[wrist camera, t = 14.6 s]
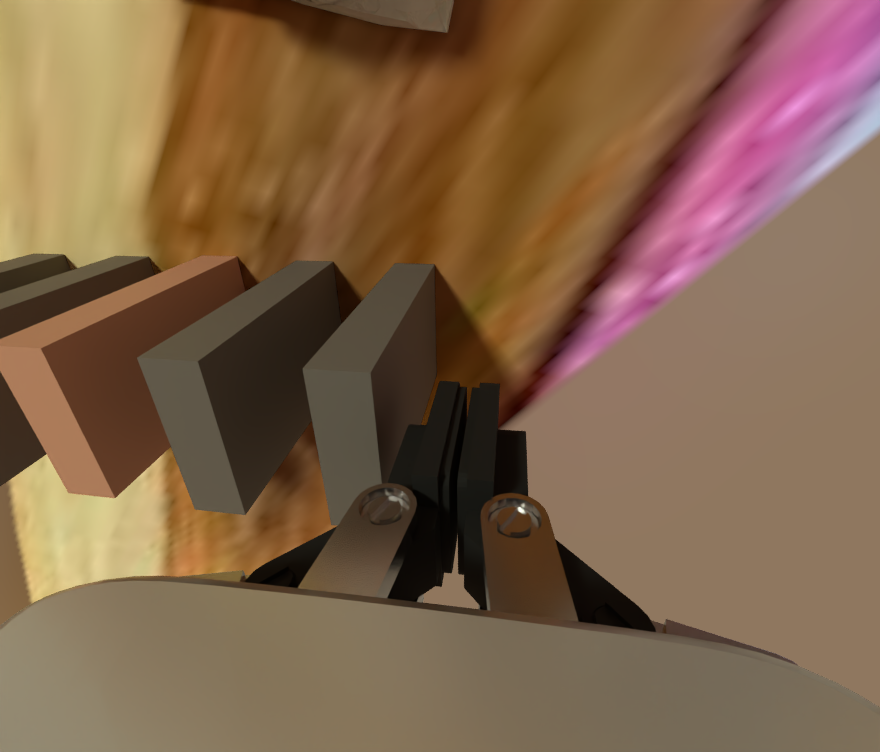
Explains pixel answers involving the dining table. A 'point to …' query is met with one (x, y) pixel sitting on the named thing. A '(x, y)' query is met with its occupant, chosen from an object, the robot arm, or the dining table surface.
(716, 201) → the dining table surface
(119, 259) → the domino
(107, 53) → the dining table surface
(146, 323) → the domino
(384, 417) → the domino
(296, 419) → the domino
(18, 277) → the domino
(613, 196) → the dining table surface
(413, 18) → the packaged product
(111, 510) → the dining table surface
